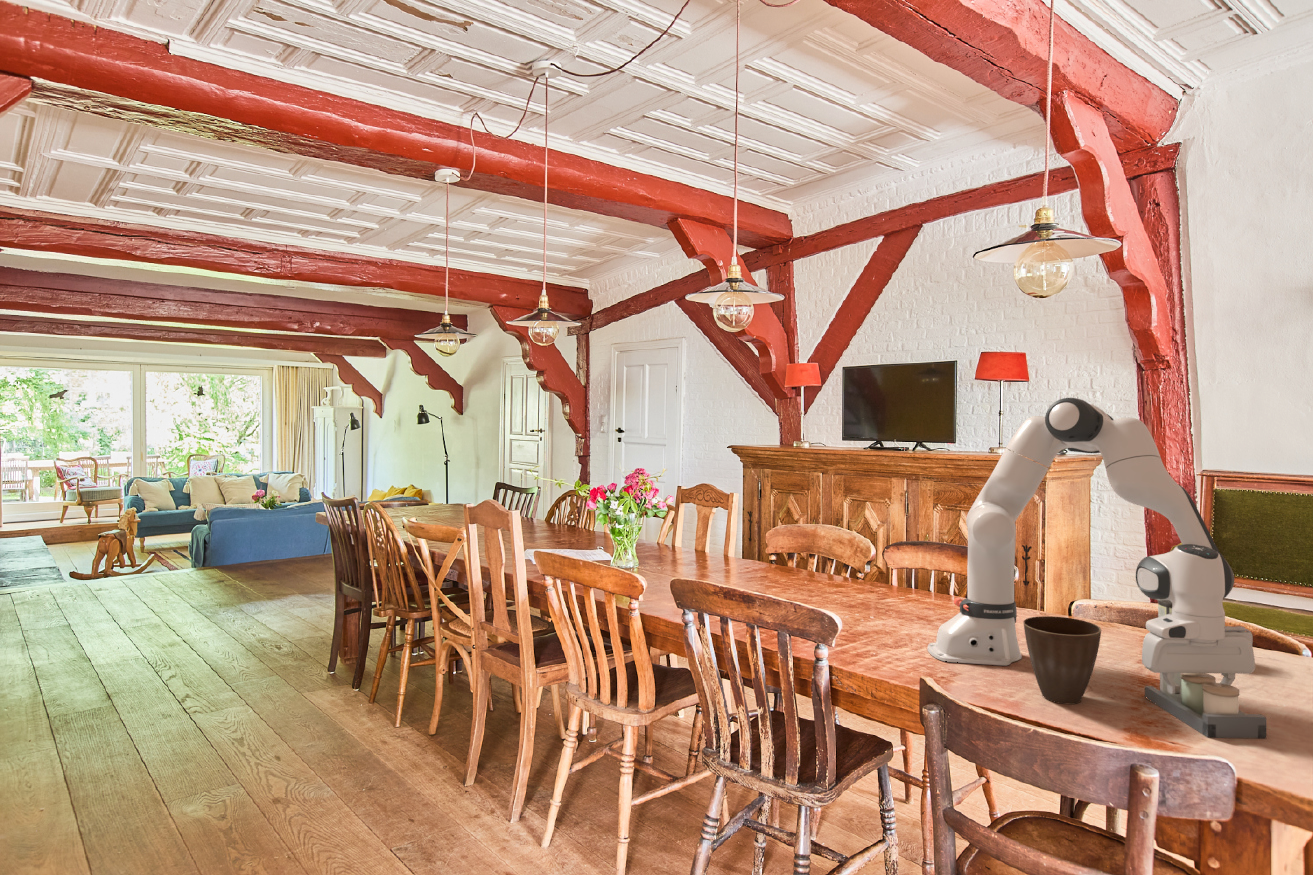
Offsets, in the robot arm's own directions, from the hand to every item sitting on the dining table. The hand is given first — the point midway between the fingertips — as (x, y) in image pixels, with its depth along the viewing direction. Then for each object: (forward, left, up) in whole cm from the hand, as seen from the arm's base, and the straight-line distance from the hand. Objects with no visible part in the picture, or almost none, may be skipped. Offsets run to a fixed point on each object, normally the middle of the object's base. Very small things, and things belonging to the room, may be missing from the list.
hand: (1197, 693), depth 155 cm
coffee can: (+20, +39, -4) cm, 45 cm away
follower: (0, +8, -4) cm, 9 cm away
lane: (0, -2, -4) cm, 5 cm away
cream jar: (0, -7, -4) cm, 8 cm away
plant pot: (-23, +8, -4) cm, 25 cm away
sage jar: (0, 0, -4) cm, 4 cm away
